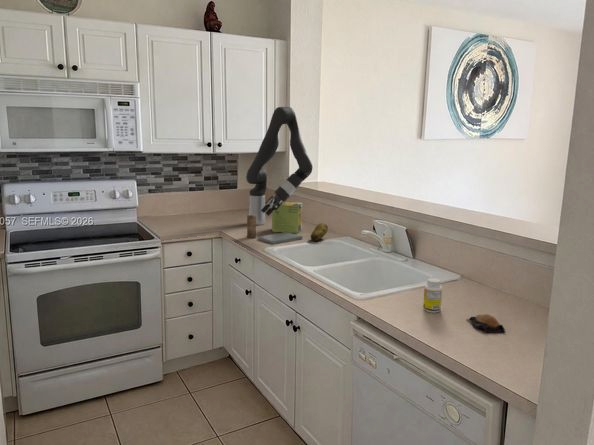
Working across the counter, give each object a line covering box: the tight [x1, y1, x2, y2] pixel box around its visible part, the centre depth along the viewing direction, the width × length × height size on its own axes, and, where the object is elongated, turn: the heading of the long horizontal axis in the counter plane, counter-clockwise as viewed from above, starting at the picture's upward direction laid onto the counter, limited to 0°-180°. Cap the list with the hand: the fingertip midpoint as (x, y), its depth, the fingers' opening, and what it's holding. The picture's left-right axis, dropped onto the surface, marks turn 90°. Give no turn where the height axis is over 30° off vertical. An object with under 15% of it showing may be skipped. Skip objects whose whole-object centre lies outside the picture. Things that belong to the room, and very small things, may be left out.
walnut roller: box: [246, 213, 257, 240], centre depth 253 cm, size 5×5×12 cm
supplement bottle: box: [423, 277, 443, 314], centre depth 155 cm, size 6×6×10 cm
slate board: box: [257, 232, 303, 245], centre depth 251 cm, size 13×19×2 cm
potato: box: [310, 223, 329, 242], centre depth 251 cm, size 8×13×8 cm, turn 134°
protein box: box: [271, 201, 303, 234], centre depth 271 cm, size 10×15×16 cm
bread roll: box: [466, 313, 507, 335], centre depth 144 cm, size 11×9×4 cm
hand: (264, 213), depth 254 cm, fingers open, 8 cm apart
